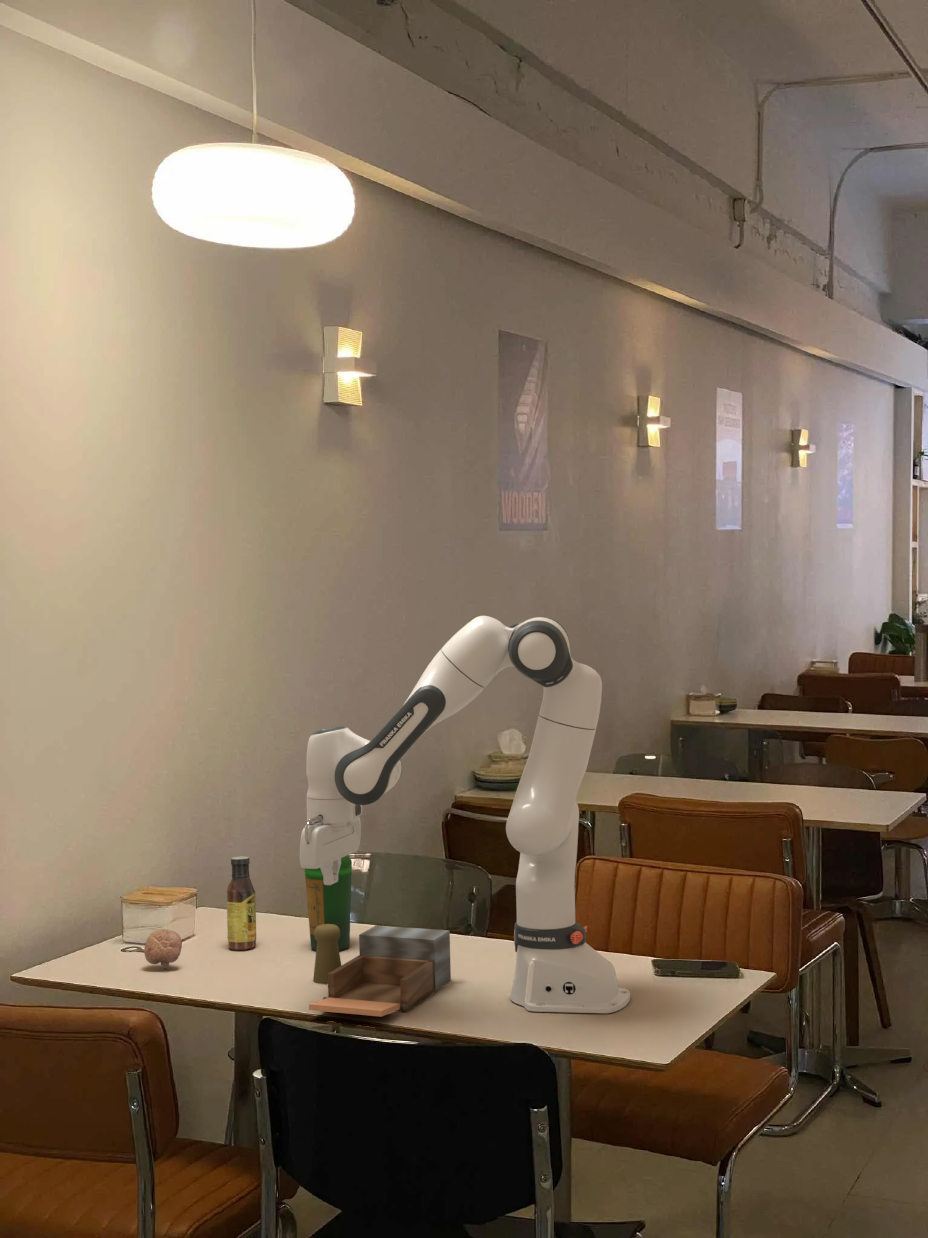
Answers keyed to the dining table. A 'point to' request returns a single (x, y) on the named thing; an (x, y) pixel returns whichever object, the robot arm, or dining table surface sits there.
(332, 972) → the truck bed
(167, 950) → the brown rounded lump
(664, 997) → the dining table surface
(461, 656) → the robot arm
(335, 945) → the cork
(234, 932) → the sauce bottle
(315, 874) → the bottle
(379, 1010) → the wooden board
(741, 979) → the dining table surface
